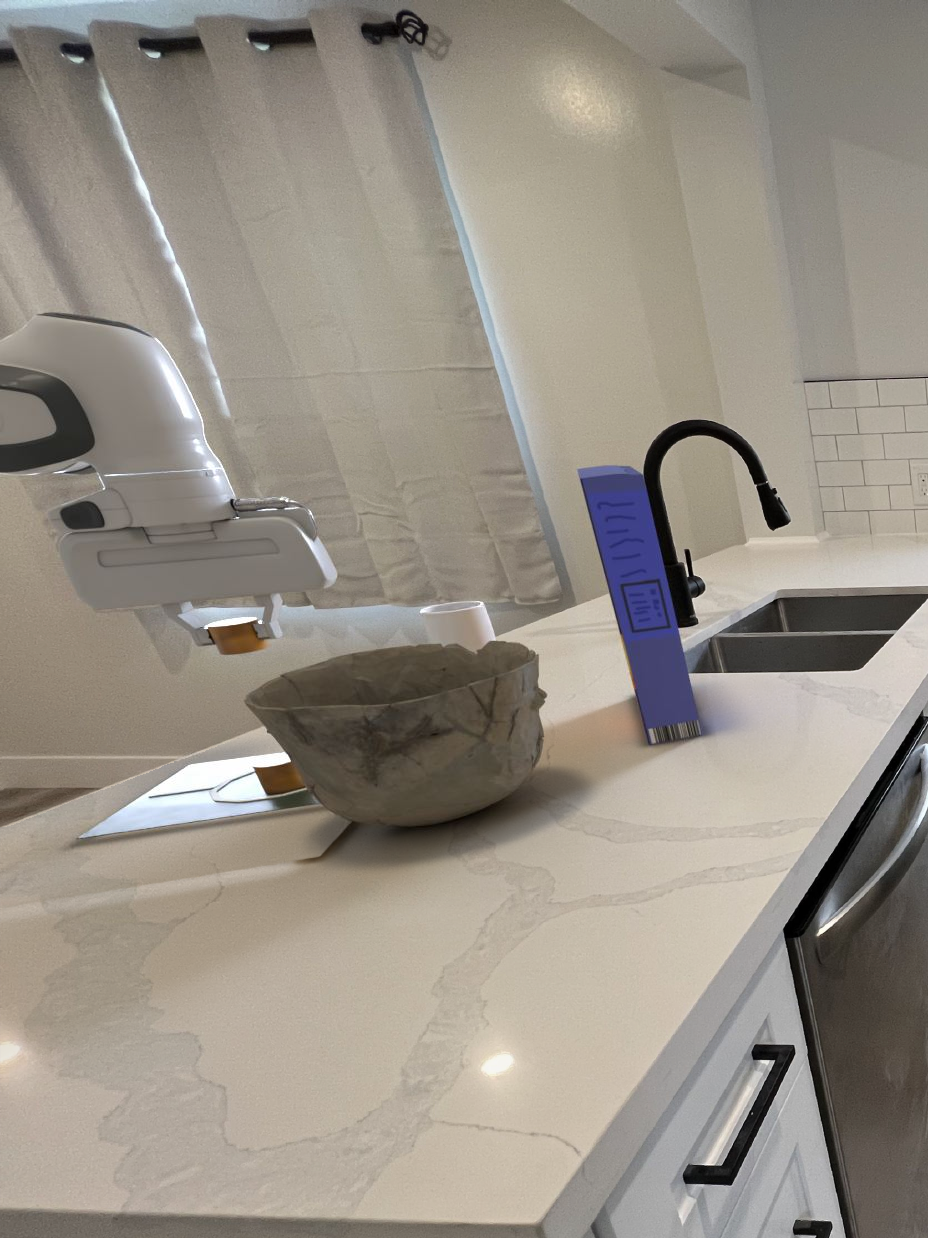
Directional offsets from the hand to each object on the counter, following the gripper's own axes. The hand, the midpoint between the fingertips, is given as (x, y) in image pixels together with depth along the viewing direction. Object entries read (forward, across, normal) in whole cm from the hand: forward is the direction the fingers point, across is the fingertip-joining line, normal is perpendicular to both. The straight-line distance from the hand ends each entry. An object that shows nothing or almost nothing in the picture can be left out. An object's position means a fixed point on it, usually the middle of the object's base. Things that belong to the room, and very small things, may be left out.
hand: (240, 641), depth 90 cm
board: (+15, +3, +4) cm, 16 cm away
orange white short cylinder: (+14, -1, +6) cm, 16 cm away
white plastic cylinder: (+16, -16, -12) cm, 25 cm away
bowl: (+16, -19, +20) cm, 32 cm away
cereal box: (+16, -38, -3) cm, 41 cm away
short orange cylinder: (+1, 0, 0) cm, 1 cm away
